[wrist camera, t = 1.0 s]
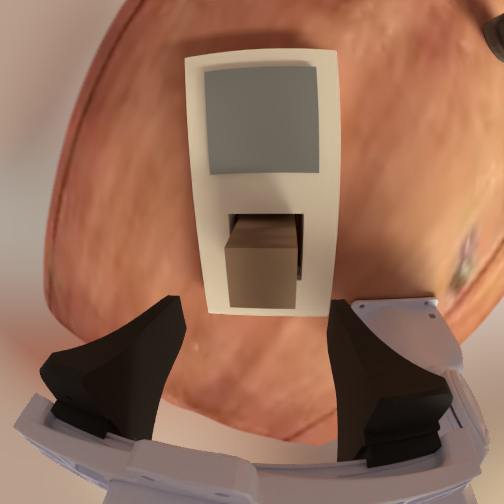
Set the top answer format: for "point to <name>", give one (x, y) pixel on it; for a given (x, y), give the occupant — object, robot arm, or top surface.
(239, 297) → the walnut block
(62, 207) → the top surface
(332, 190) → the pocket board
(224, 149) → the slate mat
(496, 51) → the beverage cup
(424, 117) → the top surface
